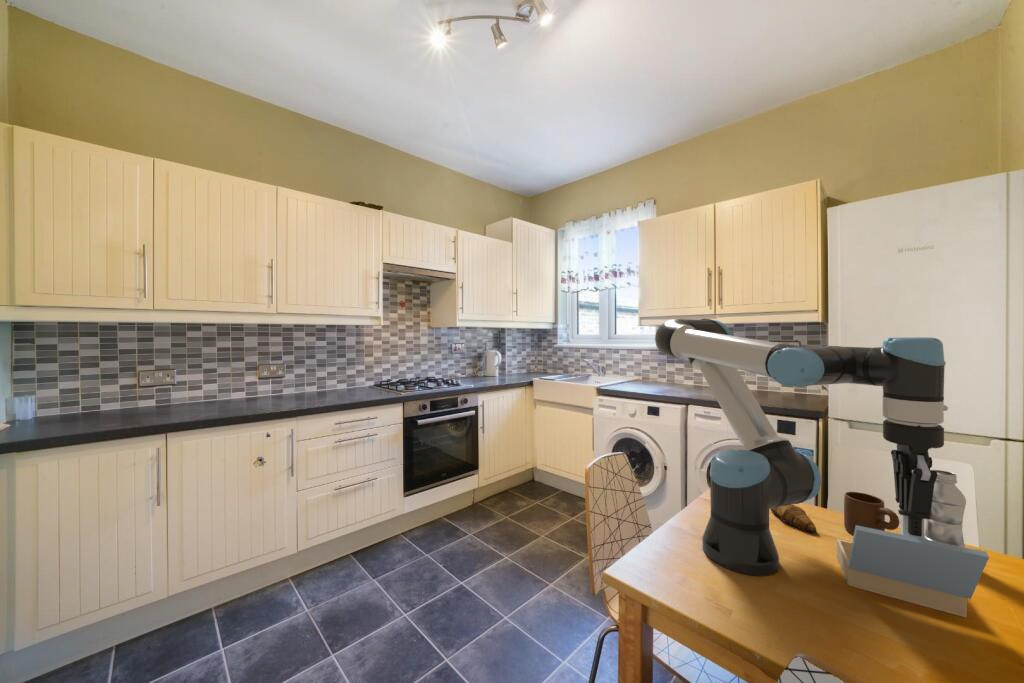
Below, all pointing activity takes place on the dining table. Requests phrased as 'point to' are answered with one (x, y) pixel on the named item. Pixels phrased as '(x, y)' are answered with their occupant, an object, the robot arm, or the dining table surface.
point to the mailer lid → (917, 561)
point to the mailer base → (898, 586)
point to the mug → (867, 513)
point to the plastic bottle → (946, 511)
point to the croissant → (795, 517)
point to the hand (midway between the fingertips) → (912, 549)
